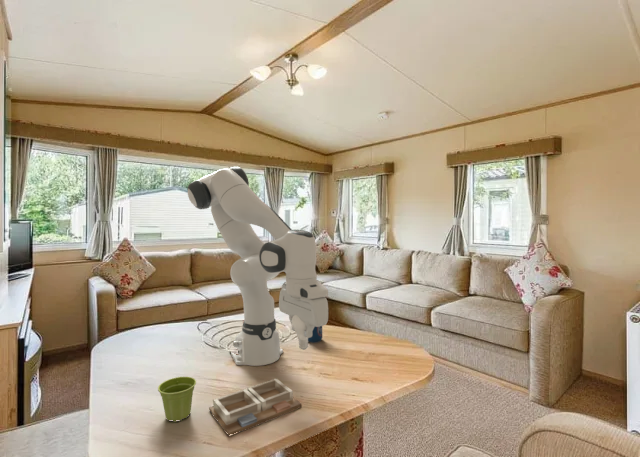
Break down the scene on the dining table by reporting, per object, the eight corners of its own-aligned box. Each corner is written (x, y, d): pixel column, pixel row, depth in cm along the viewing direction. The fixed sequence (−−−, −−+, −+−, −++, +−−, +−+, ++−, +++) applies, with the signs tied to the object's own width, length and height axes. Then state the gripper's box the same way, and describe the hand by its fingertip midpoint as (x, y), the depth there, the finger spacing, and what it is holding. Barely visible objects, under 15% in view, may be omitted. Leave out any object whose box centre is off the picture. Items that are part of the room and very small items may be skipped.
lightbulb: (312, 352, 98) (309, 313, 98) (290, 352, 99) (288, 313, 99) (316, 345, 104) (314, 308, 104) (296, 345, 105) (293, 309, 105)
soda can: (322, 343, 144) (322, 314, 143) (305, 343, 144) (305, 314, 143) (322, 337, 151) (322, 309, 150) (306, 337, 151) (305, 310, 150)
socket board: (209, 410, 96) (208, 398, 96) (276, 387, 108) (276, 376, 108) (228, 436, 85) (228, 422, 84) (301, 407, 97) (301, 394, 97)
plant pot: (166, 407, 98) (165, 377, 98) (200, 405, 99) (199, 375, 98) (153, 427, 89) (152, 394, 88) (191, 425, 90) (190, 392, 89)
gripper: (273, 282, 107) (274, 326, 108) (313, 294, 91) (313, 346, 92) (290, 279, 111) (291, 322, 112) (332, 291, 95) (332, 341, 95)
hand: (301, 333), depth 101 cm, fingers closed on lightbulb, 5 cm apart
